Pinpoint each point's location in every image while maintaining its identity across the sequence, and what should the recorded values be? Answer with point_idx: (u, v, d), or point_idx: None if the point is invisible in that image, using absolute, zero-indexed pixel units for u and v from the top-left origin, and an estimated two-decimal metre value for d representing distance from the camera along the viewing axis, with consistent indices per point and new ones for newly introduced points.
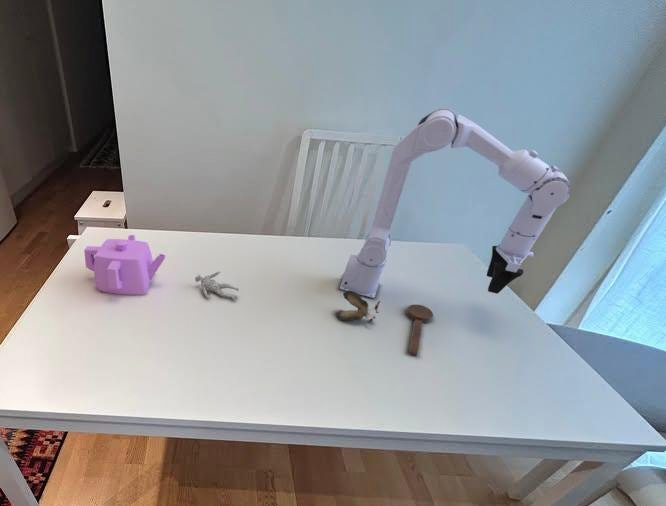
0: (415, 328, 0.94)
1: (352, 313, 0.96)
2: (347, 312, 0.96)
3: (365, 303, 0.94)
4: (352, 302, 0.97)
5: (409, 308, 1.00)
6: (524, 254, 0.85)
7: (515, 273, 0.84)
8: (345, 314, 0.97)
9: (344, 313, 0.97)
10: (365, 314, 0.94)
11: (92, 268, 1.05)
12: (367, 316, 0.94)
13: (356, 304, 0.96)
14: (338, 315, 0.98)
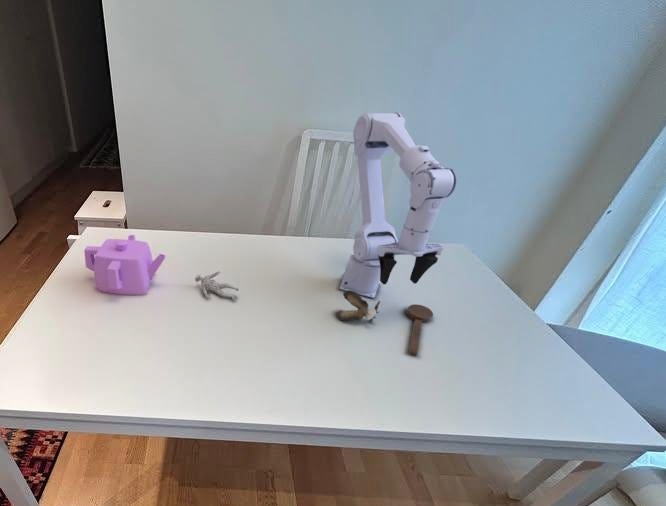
0: (415, 328, 0.94)
1: (352, 313, 0.96)
2: (347, 312, 0.96)
3: (365, 303, 0.94)
4: (352, 302, 0.97)
5: (409, 308, 1.00)
6: (406, 249, 0.86)
7: (384, 259, 0.88)
8: (345, 314, 0.97)
9: (344, 313, 0.97)
10: (365, 314, 0.94)
11: (92, 268, 1.05)
12: (367, 316, 0.94)
13: (356, 304, 0.96)
14: (338, 315, 0.98)
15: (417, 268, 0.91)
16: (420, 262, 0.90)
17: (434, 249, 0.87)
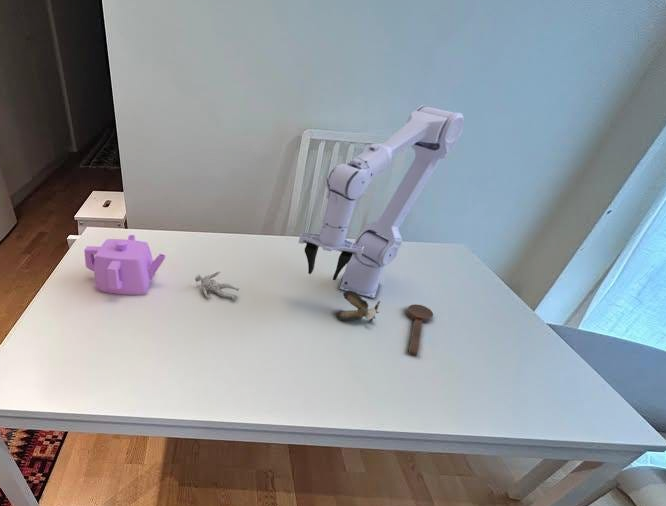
0: (415, 328, 0.94)
1: (352, 313, 0.96)
2: (347, 312, 0.96)
3: (365, 303, 0.94)
4: (352, 302, 0.97)
5: (409, 308, 1.00)
6: (320, 241, 0.89)
7: None
8: (345, 314, 0.97)
9: (344, 313, 0.97)
10: (365, 314, 0.94)
11: (92, 268, 1.05)
12: (367, 316, 0.94)
13: (356, 304, 0.96)
14: (338, 315, 0.98)
15: None
16: None
17: (351, 249, 0.87)
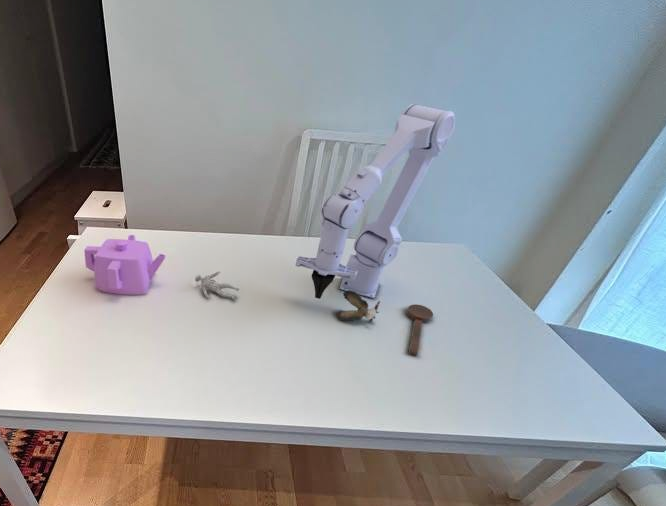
0: (415, 328, 0.94)
1: (352, 313, 0.96)
2: (347, 312, 0.96)
3: (365, 303, 0.94)
4: (352, 302, 0.97)
5: (409, 308, 1.00)
6: (316, 265, 0.93)
7: None
8: (345, 314, 0.97)
9: (344, 313, 0.97)
10: (365, 314, 0.94)
11: (92, 268, 1.05)
12: (367, 316, 0.94)
13: (356, 304, 0.96)
14: (338, 315, 0.98)
15: None
16: None
17: (345, 273, 0.91)
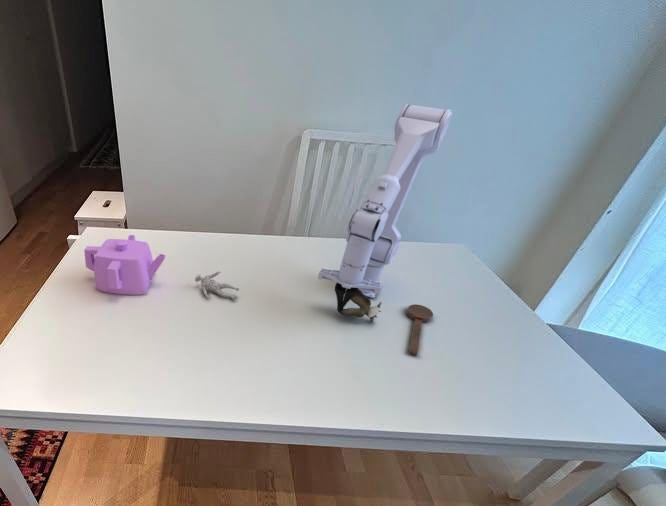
0: (415, 328, 0.94)
1: (354, 310, 0.96)
2: (350, 309, 0.96)
3: (368, 301, 0.95)
4: (355, 300, 0.97)
5: (409, 308, 1.00)
6: (339, 278, 0.92)
7: None
8: (348, 310, 0.96)
9: (346, 310, 0.97)
10: (367, 312, 0.94)
11: (92, 268, 1.05)
12: (369, 314, 0.94)
13: (359, 302, 0.96)
14: (340, 312, 0.98)
15: None
16: None
17: (369, 287, 0.90)
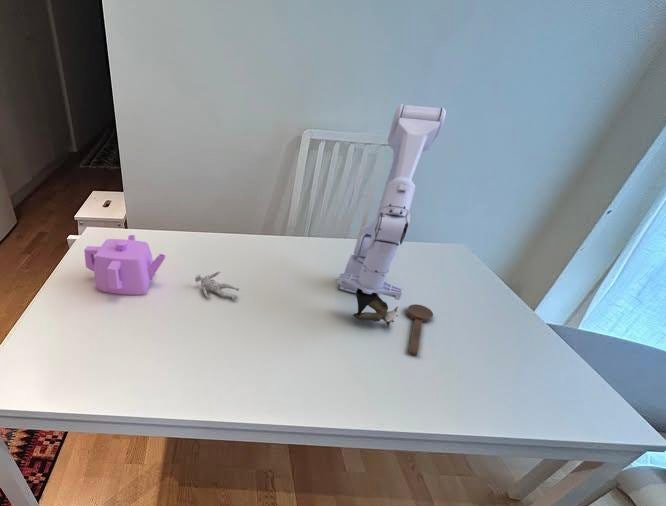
0: (415, 328, 0.94)
1: (371, 314, 0.94)
2: (366, 313, 0.95)
3: (385, 305, 0.93)
4: (371, 304, 0.95)
5: (409, 308, 1.00)
6: (360, 283, 0.90)
7: (356, 292, 0.93)
8: (364, 314, 0.95)
9: (362, 314, 0.95)
10: (384, 316, 0.93)
11: (92, 268, 1.05)
12: (386, 318, 0.93)
13: (375, 306, 0.95)
14: (356, 316, 0.96)
15: None
16: None
17: (390, 292, 0.89)
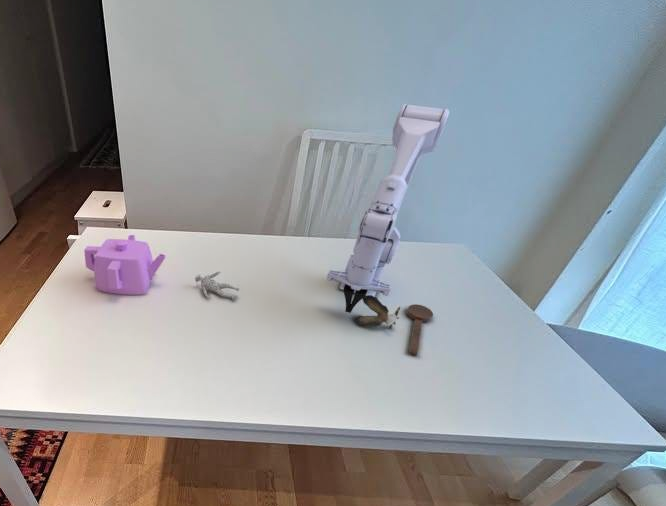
0: (415, 328, 0.94)
1: (371, 318, 0.94)
2: (367, 317, 0.95)
3: (385, 308, 0.93)
4: (372, 307, 0.95)
5: (409, 308, 1.00)
6: (348, 280, 0.91)
7: None
8: (365, 319, 0.95)
9: (363, 318, 0.96)
10: (385, 320, 0.93)
11: (92, 268, 1.05)
12: (387, 322, 0.93)
13: (376, 309, 0.94)
14: (357, 320, 0.97)
15: None
16: None
17: (379, 288, 0.90)
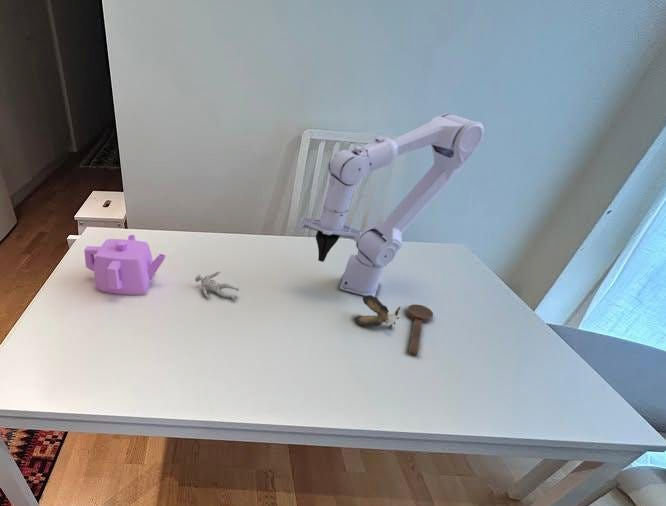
0: (415, 328, 0.94)
1: (371, 318, 0.94)
2: (367, 317, 0.95)
3: (385, 308, 0.93)
4: (372, 307, 0.95)
5: (409, 308, 1.00)
6: (320, 225, 0.92)
7: None
8: (365, 319, 0.95)
9: (363, 318, 0.96)
10: (385, 320, 0.93)
11: (92, 268, 1.05)
12: (387, 322, 0.93)
13: (376, 309, 0.94)
14: (357, 320, 0.97)
15: None
16: None
17: (350, 233, 0.91)
